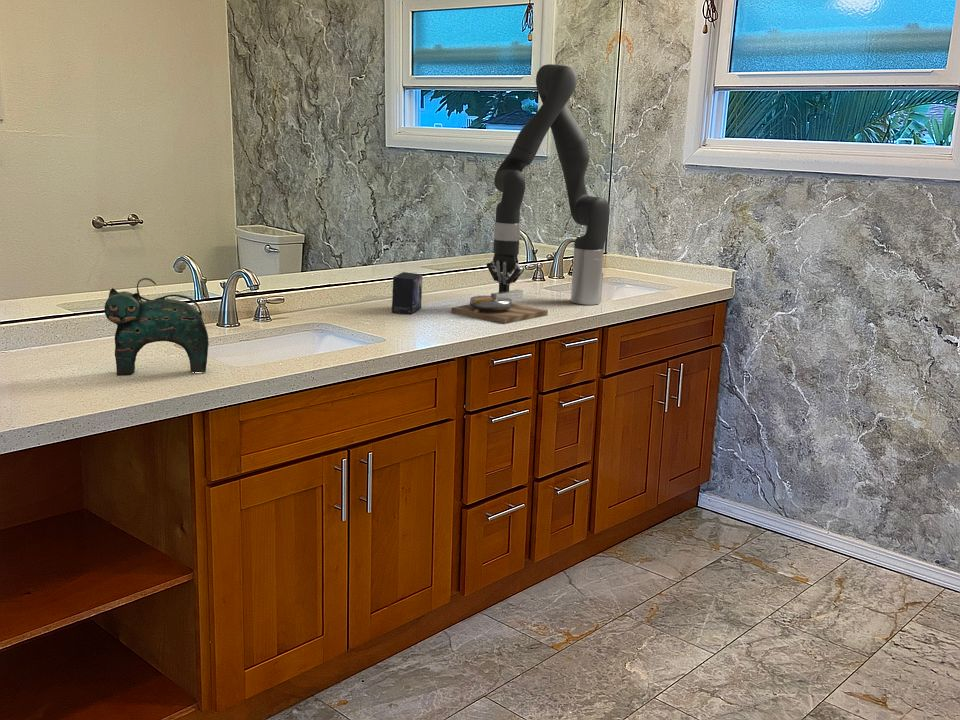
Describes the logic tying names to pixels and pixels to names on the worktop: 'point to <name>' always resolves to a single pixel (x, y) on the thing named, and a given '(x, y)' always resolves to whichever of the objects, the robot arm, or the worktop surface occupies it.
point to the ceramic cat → (155, 327)
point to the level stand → (501, 313)
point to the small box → (407, 293)
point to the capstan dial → (497, 300)
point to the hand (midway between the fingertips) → (503, 296)
